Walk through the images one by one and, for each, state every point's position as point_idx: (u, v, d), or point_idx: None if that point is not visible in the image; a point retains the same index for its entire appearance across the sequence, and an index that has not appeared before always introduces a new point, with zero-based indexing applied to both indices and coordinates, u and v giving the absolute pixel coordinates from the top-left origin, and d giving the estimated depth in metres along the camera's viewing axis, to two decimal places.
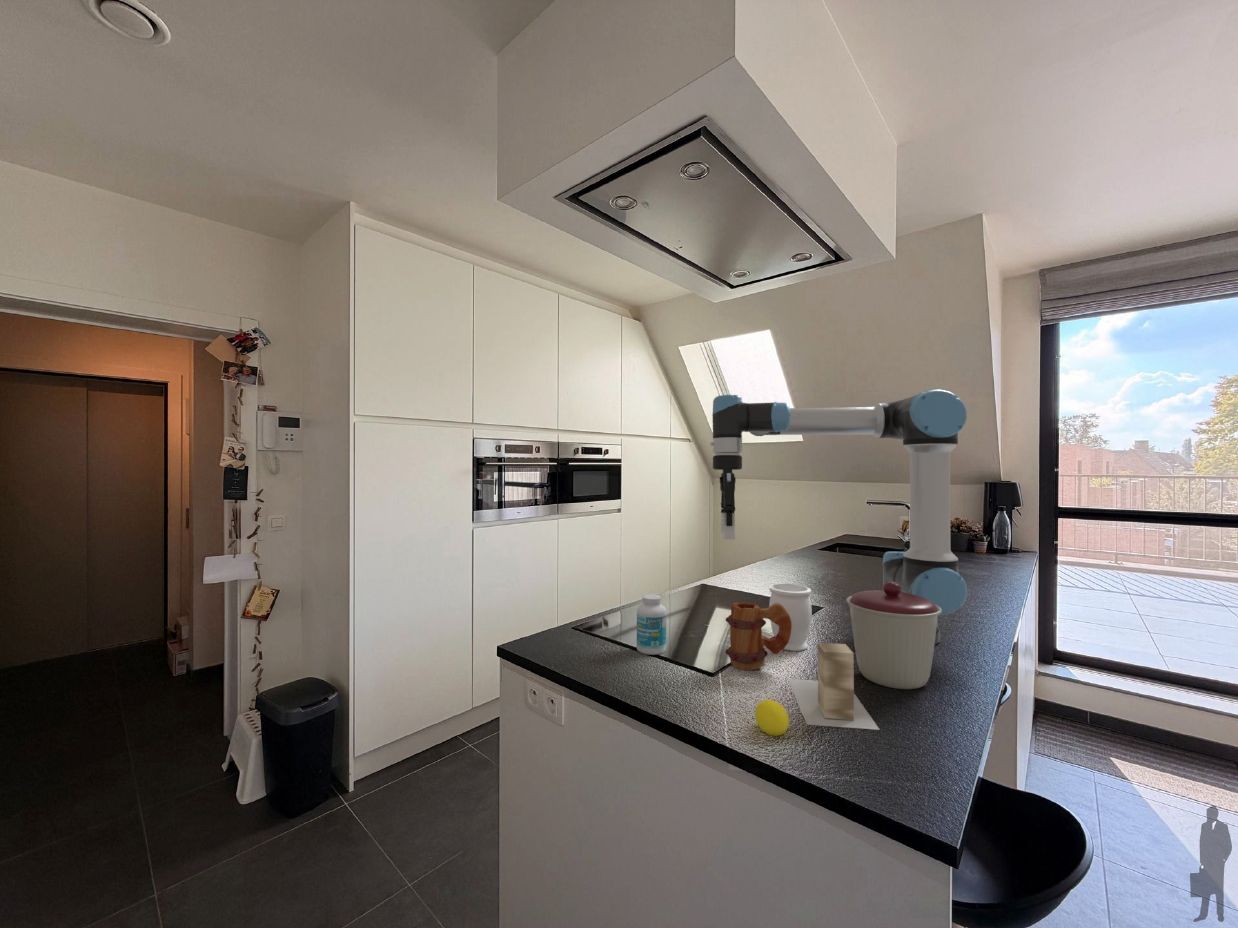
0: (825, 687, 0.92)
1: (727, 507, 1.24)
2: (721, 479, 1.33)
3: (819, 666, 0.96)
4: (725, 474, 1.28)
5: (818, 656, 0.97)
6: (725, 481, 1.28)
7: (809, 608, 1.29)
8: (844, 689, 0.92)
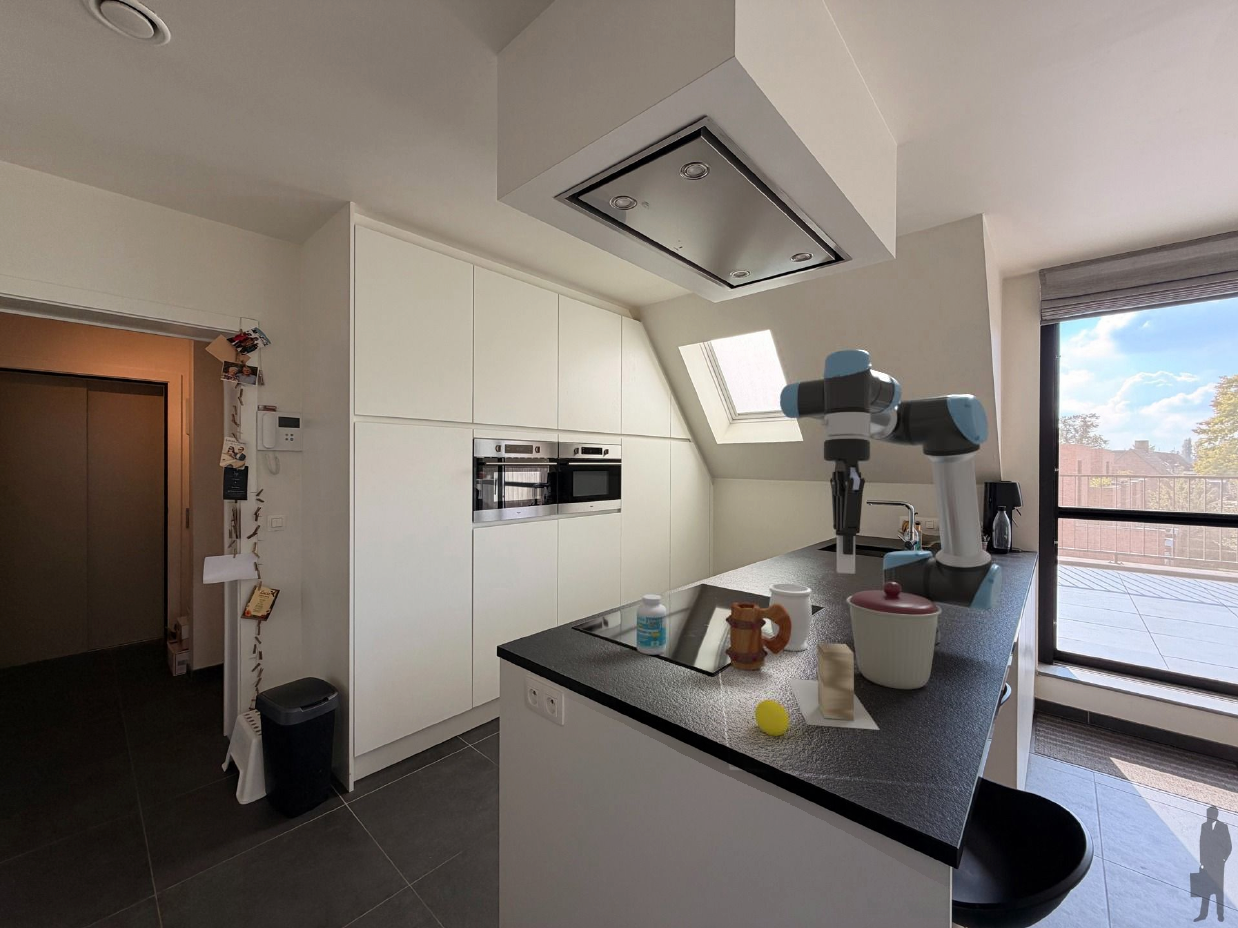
0: (825, 687, 0.92)
1: (848, 528, 0.87)
2: (839, 478, 0.89)
3: (819, 666, 0.96)
4: (851, 481, 0.85)
5: (818, 656, 0.97)
6: (849, 491, 0.86)
7: (809, 608, 1.29)
8: (844, 689, 0.92)
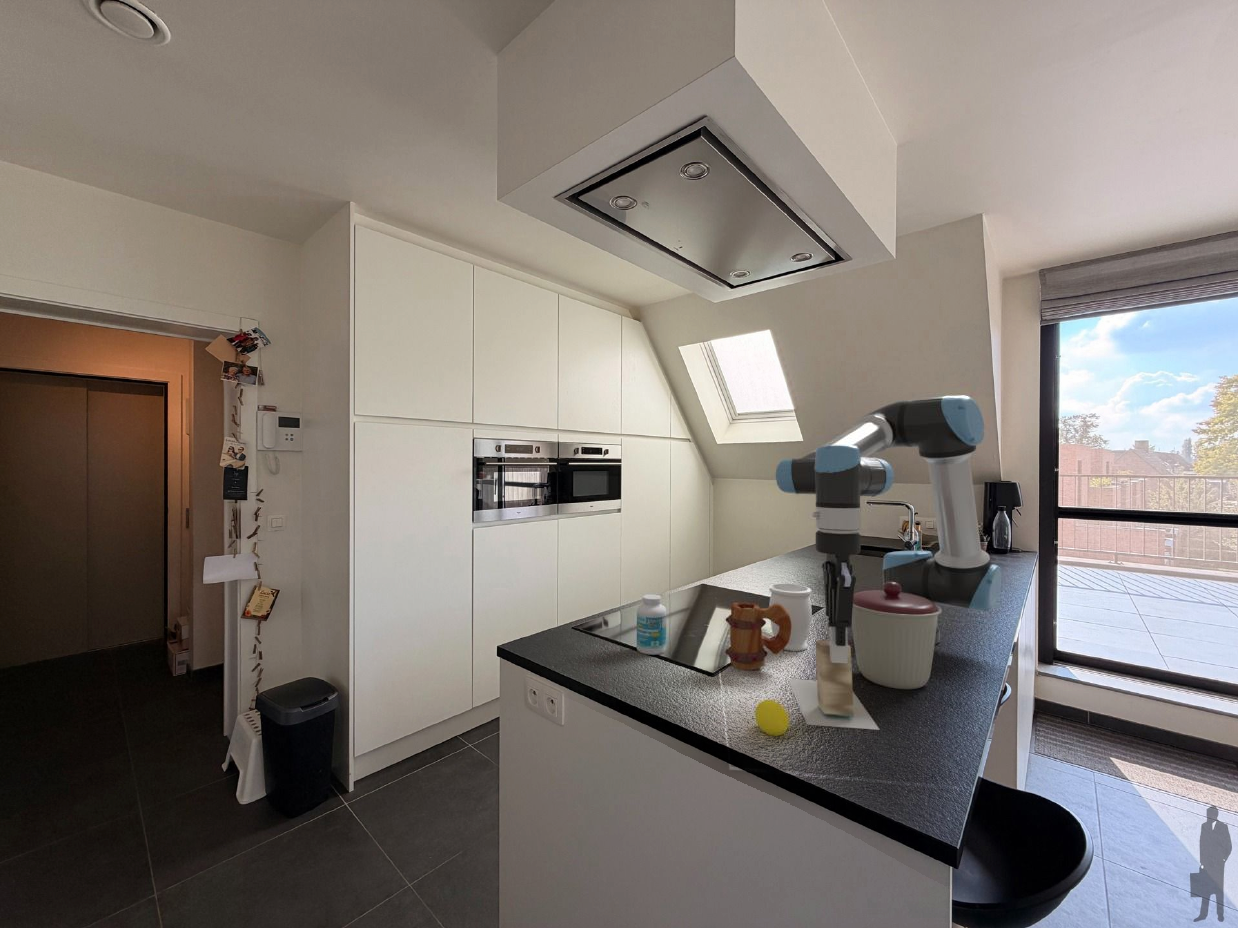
0: (824, 681, 0.93)
1: (840, 622, 0.89)
2: (831, 571, 0.91)
3: (818, 663, 0.97)
4: (843, 580, 0.87)
5: (816, 653, 0.98)
6: (841, 587, 0.88)
7: (809, 608, 1.29)
8: (842, 683, 0.93)
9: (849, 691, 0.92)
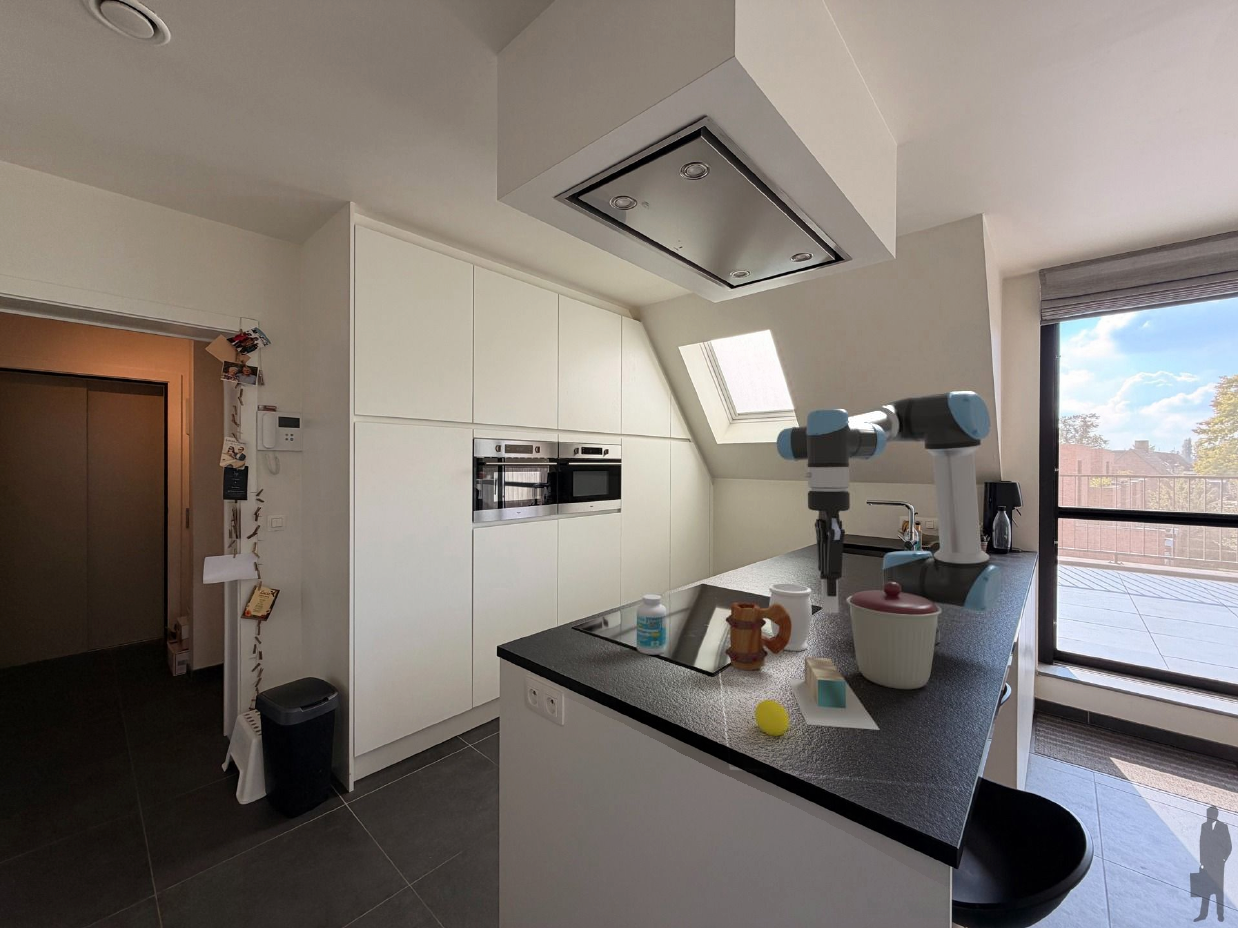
0: (812, 668, 1.03)
1: (831, 573, 0.96)
2: (822, 526, 0.98)
3: (808, 682, 1.05)
4: (832, 533, 0.93)
5: (807, 682, 1.07)
6: (831, 541, 0.94)
7: (809, 608, 1.29)
8: (829, 669, 1.02)
9: (836, 672, 1.01)
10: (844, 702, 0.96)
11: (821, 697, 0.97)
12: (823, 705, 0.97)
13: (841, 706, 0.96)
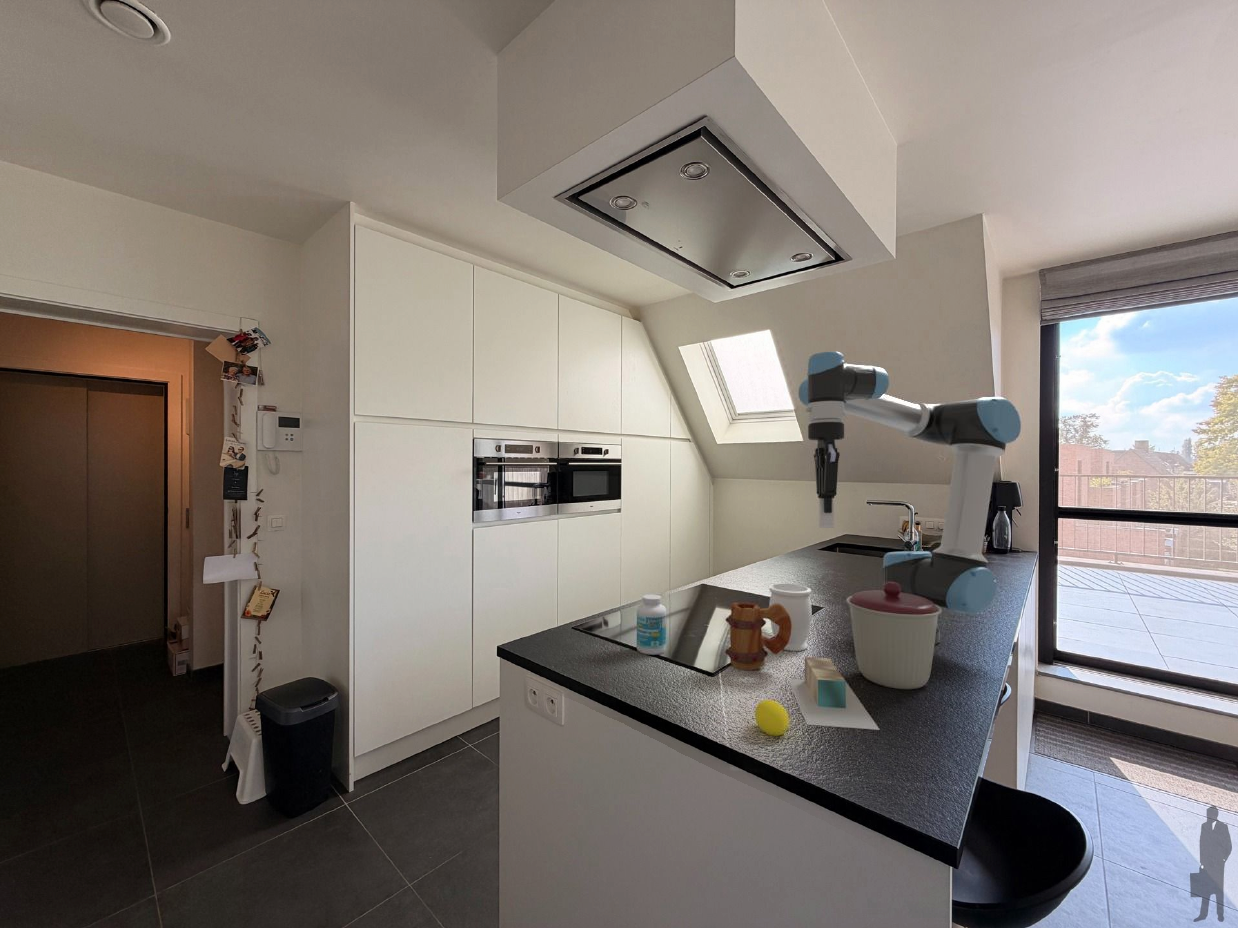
0: (812, 668, 1.03)
1: (827, 491, 1.12)
2: (820, 453, 1.14)
3: (808, 682, 1.05)
4: (829, 455, 1.09)
5: (807, 682, 1.07)
6: (828, 462, 1.10)
7: (809, 608, 1.29)
8: (829, 669, 1.02)
9: (836, 672, 1.01)
10: (844, 702, 0.96)
11: (821, 697, 0.97)
12: (823, 705, 0.97)
13: (841, 706, 0.96)
